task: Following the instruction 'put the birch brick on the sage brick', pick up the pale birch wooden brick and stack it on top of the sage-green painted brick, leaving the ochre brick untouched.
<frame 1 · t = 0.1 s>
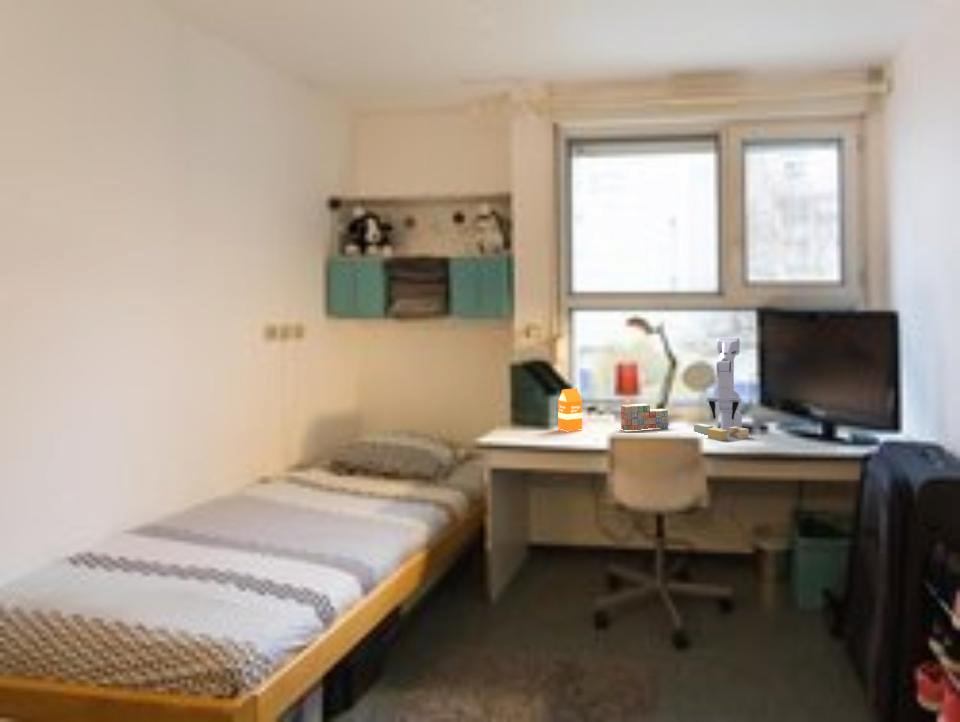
hand: (723, 419, 386), 10 cm above the table, tool pointing down, fingers open, 7 cm apart
sage brick: (703, 433, 407), resting on desk mat
desk mat: (718, 436, 402), on the table
orange juice: (570, 430, 426), on the table
birch brick: (738, 436, 397), resting on desk mat
stack of blocks: (644, 430, 423), on the table
ochre brick: (717, 438, 395), resting on desk mat
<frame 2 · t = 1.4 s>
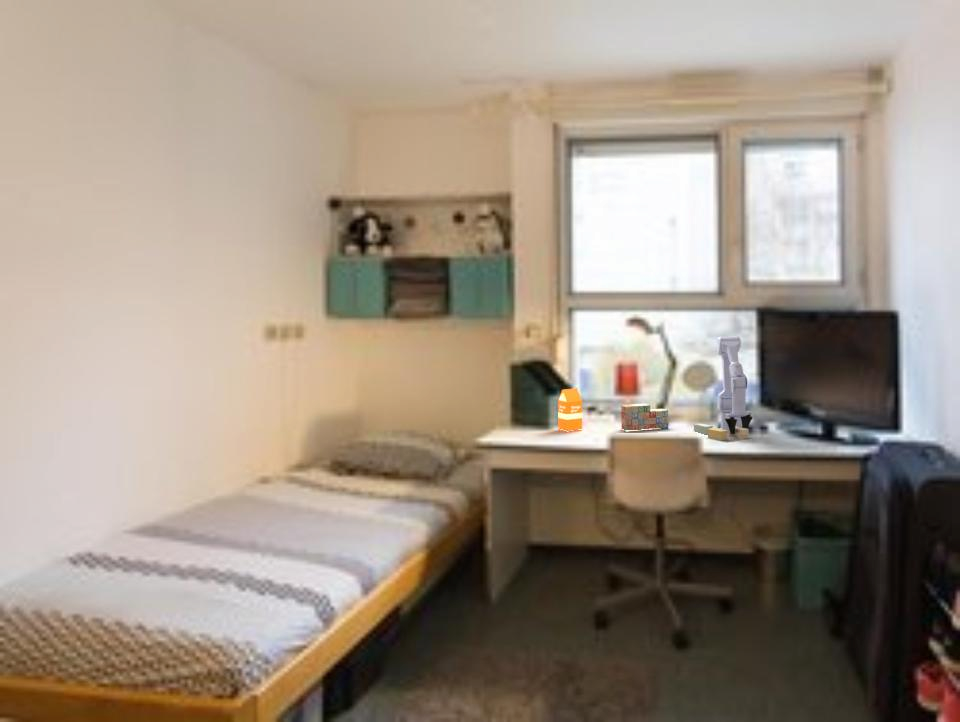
hand: (738, 432, 397), 2 cm above the table, tool pointing down, fingers open, 7 cm apart
nothing on the table moved.
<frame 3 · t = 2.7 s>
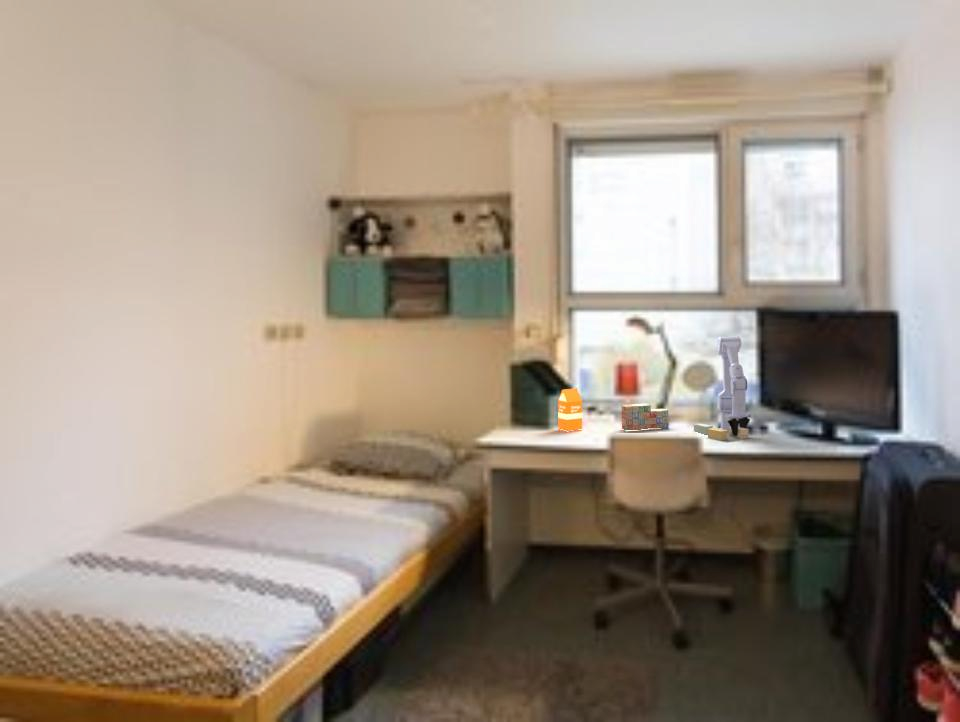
hand: (738, 434, 397), 1 cm above the table, tool pointing down, fingers closed on birch brick, 4 cm apart
birch brick: (738, 436, 397), resting on desk mat, touching gripper
everything else where it was.
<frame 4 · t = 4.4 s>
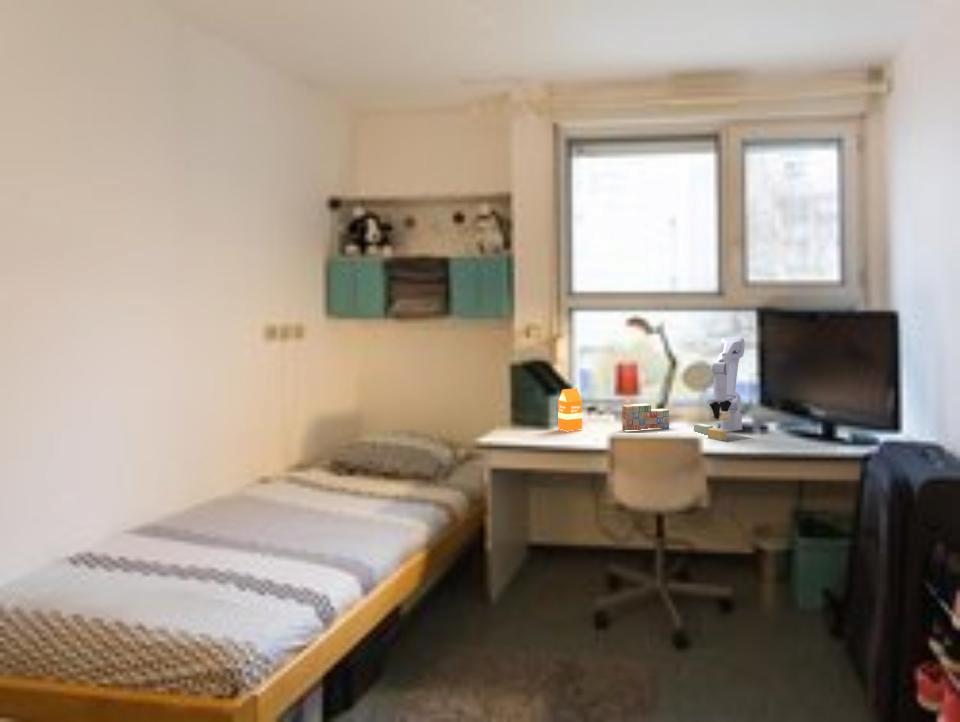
hand: (720, 417, 402), 8 cm above the table, tool pointing down, fingers closed on birch brick, 4 cm apart
birch brick: (720, 420, 402), point 7 cm above the table, touching gripper
everything else where it was.
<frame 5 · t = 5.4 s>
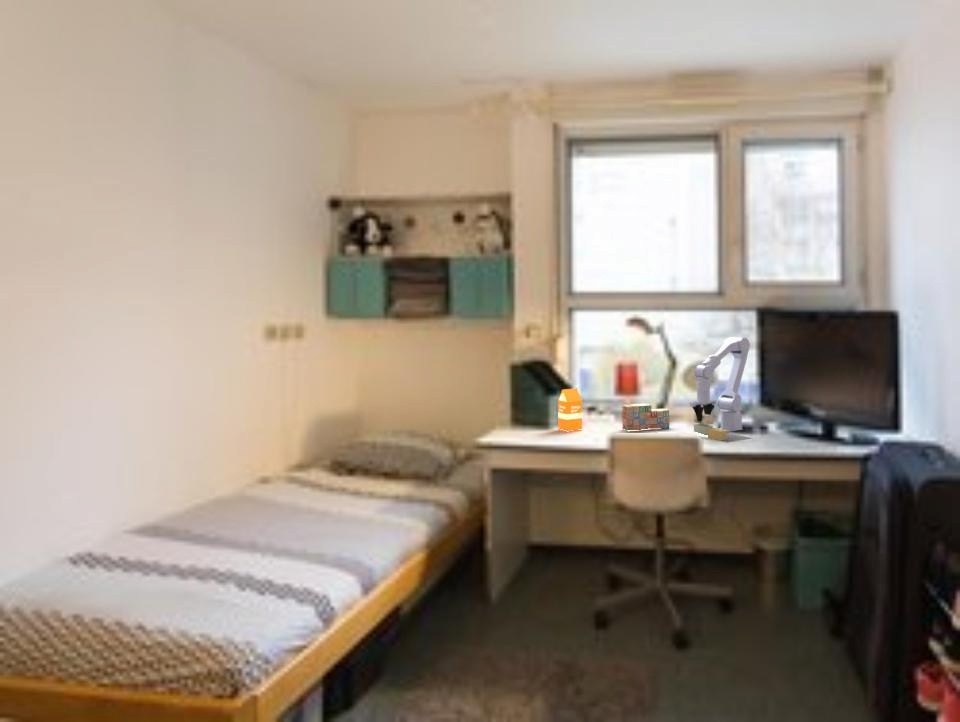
hand: (703, 420, 406), 6 cm above the table, tool pointing down, fingers closed on birch brick, 4 cm apart
birch brick: (703, 423, 406), point 5 cm above the table, touching gripper
everything else where it was.
when the fingers open (6 cm above the table, at t = 6.2 s): birch brick stays where it is, resting on sage brick.
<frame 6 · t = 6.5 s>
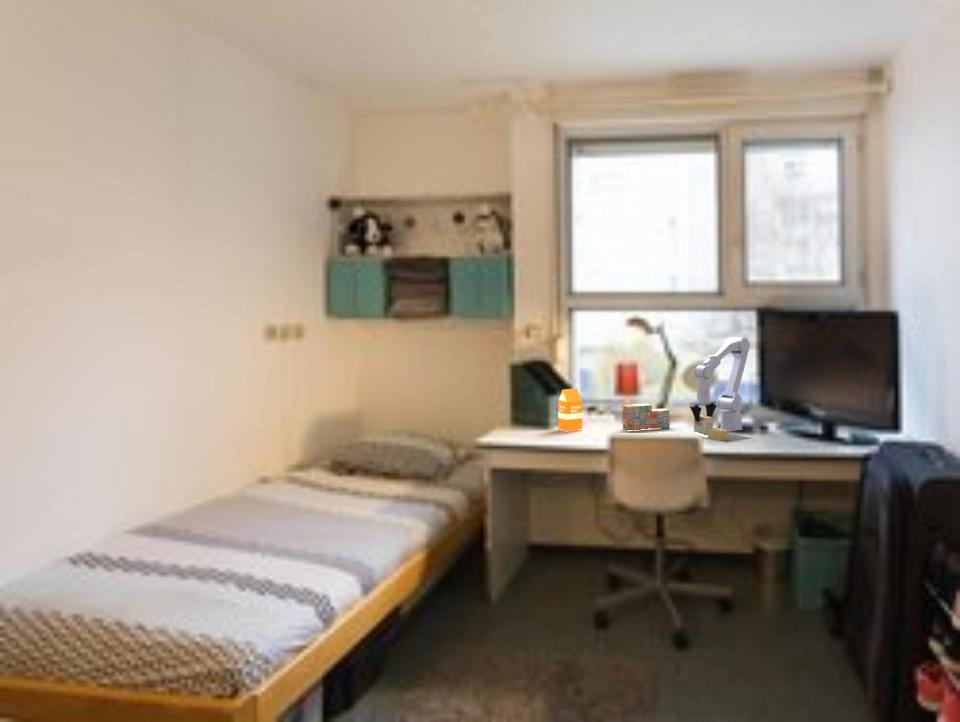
hand: (703, 420, 406), 6 cm above the table, tool pointing down, fingers open, 7 cm apart
sage brick: (703, 433, 407), resting on desk mat, touching birch brick
birch brick: (703, 425, 406), point 4 cm above the table, touching sage brick
everything else where it was.
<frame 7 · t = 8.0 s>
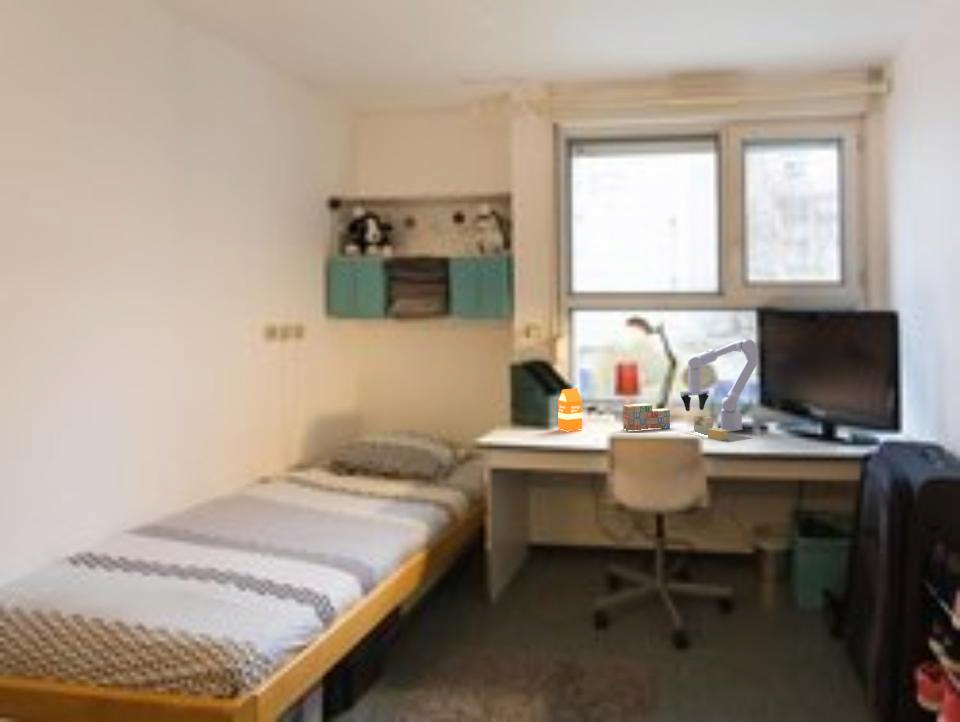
hand: (694, 410, 418), 9 cm above the table, tool pointing down, fingers open, 7 cm apart
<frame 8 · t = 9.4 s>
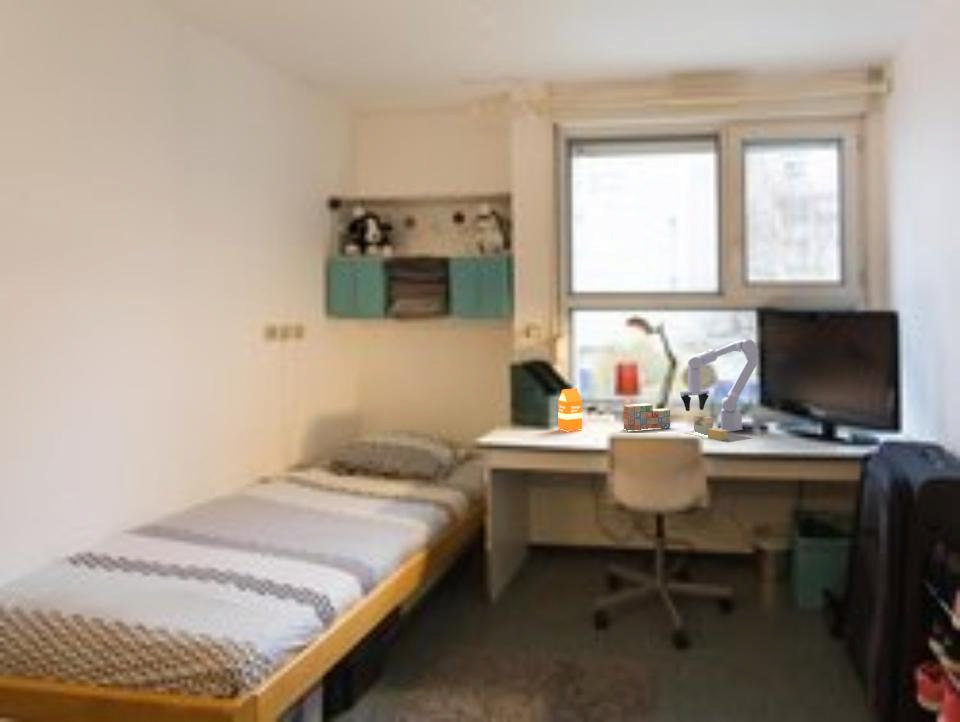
hand: (694, 410, 418), 9 cm above the table, tool pointing down, fingers open, 7 cm apart
at the end: birch brick 0.2 cm off-centre on the sage brick, point 4.0 cm above the sage brick's base; ochre brick moved 0.0 cm from its start; the gripper is holding nothing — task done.
